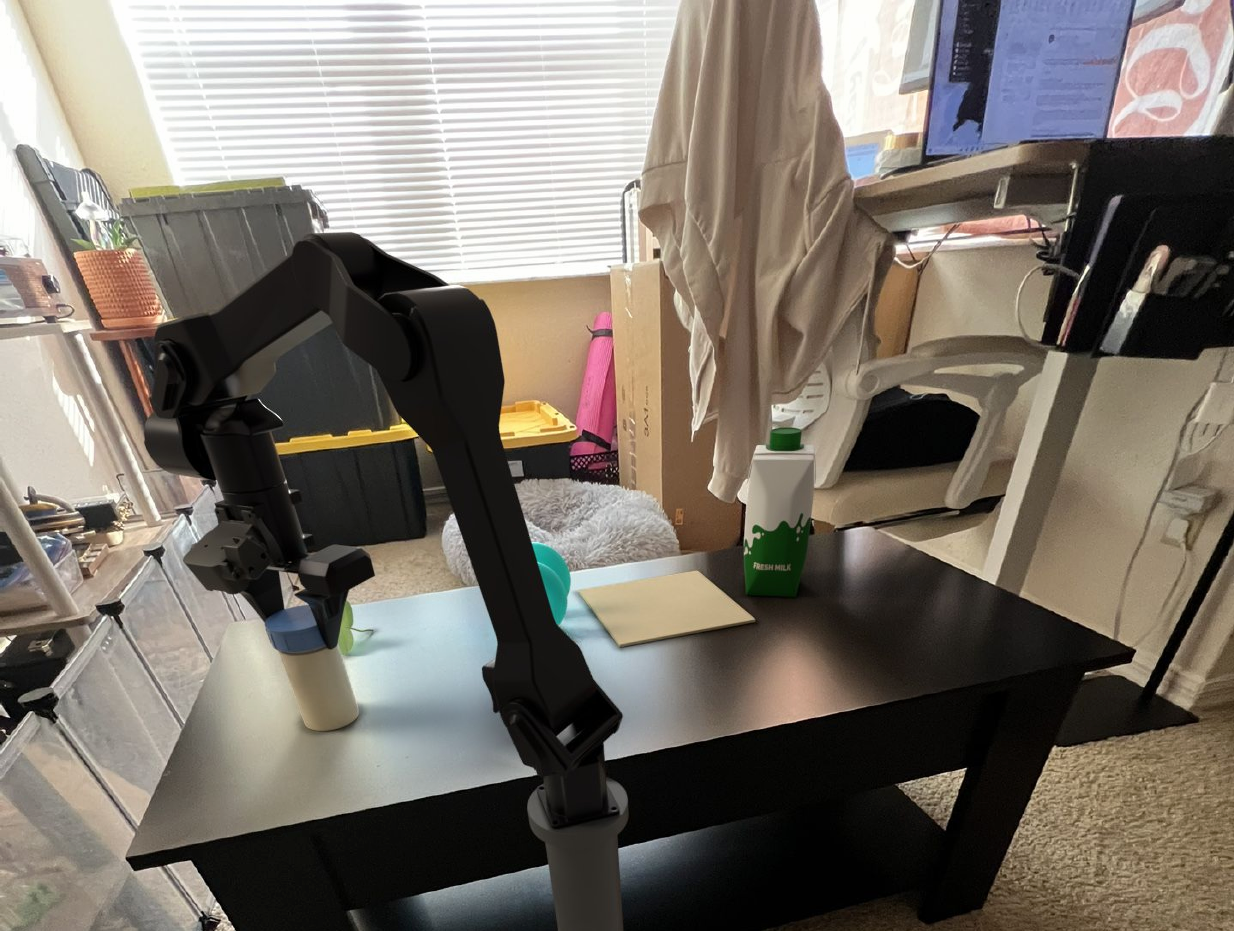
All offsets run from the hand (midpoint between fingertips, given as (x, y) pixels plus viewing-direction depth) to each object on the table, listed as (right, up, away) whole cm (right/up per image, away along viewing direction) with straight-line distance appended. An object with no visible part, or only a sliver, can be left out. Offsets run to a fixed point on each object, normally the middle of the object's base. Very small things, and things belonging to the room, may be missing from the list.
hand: (307, 643), depth 76 cm
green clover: (-2, +5, +21) cm, 21 cm away
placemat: (+39, +11, +25) cm, 48 cm away
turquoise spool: (+22, +8, +23) cm, 32 cm away
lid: (0, +2, -2) cm, 2 cm away
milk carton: (+55, +15, +29) cm, 64 cm away
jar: (0, -7, +6) cm, 9 cm away
